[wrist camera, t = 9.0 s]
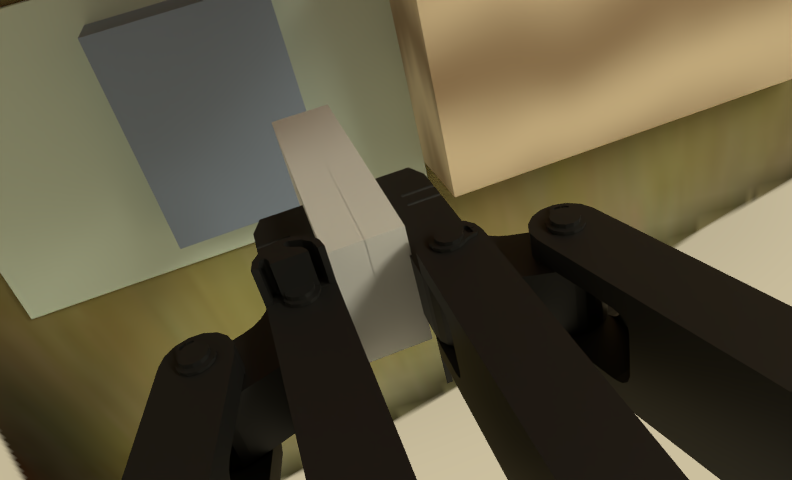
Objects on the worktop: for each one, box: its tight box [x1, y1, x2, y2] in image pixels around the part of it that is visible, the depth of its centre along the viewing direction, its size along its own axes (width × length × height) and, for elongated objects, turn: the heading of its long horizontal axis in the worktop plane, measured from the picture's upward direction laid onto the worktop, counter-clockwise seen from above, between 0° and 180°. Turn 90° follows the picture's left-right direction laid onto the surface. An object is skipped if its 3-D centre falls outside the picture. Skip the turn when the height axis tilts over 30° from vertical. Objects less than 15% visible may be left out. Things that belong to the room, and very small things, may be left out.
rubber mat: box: [0, 0, 428, 319], centre depth 25 cm, size 11×17×1 cm, turn 103°
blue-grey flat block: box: [78, 0, 306, 249], centre depth 24 cm, size 8×6×2 cm
